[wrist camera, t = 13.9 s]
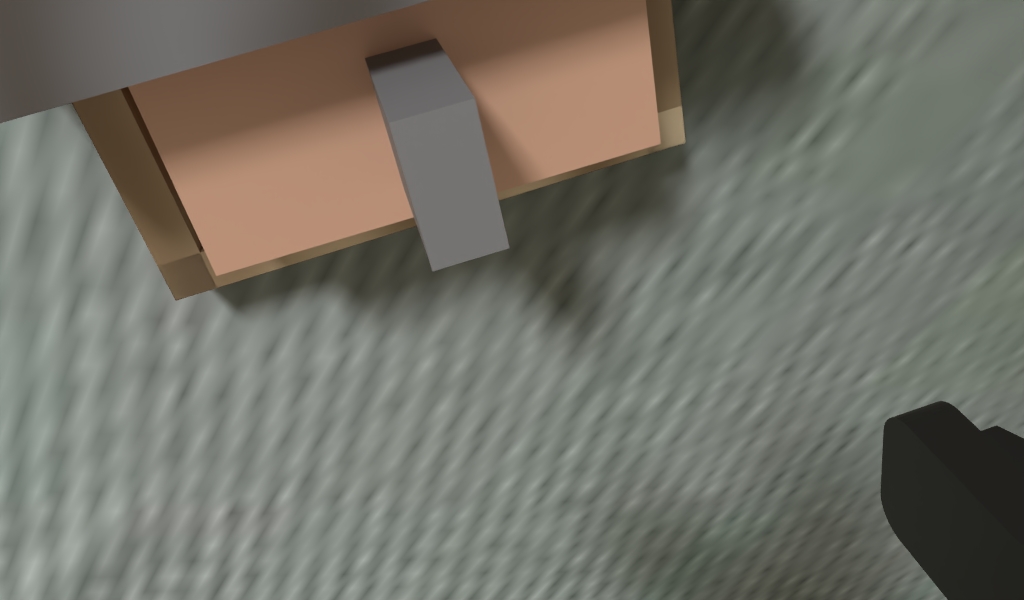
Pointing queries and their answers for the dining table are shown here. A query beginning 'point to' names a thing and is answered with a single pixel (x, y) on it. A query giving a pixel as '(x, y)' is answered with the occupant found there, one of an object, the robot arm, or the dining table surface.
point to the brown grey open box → (191, 43)
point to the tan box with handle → (401, 123)
